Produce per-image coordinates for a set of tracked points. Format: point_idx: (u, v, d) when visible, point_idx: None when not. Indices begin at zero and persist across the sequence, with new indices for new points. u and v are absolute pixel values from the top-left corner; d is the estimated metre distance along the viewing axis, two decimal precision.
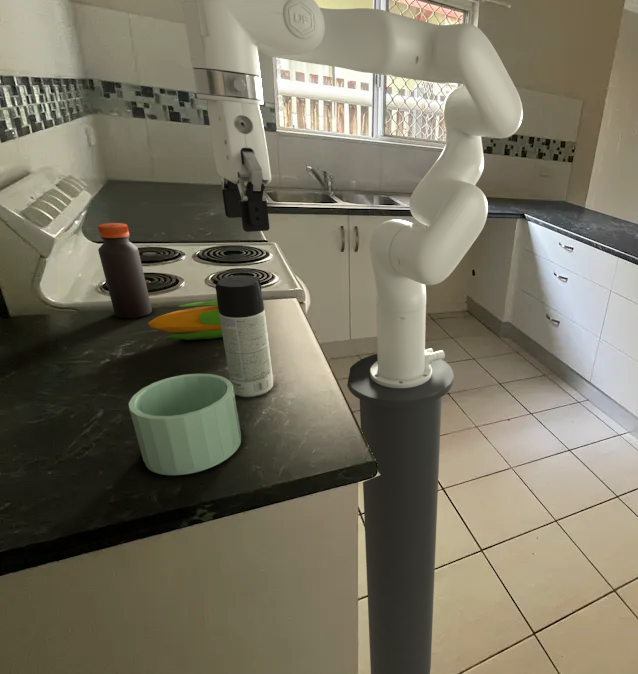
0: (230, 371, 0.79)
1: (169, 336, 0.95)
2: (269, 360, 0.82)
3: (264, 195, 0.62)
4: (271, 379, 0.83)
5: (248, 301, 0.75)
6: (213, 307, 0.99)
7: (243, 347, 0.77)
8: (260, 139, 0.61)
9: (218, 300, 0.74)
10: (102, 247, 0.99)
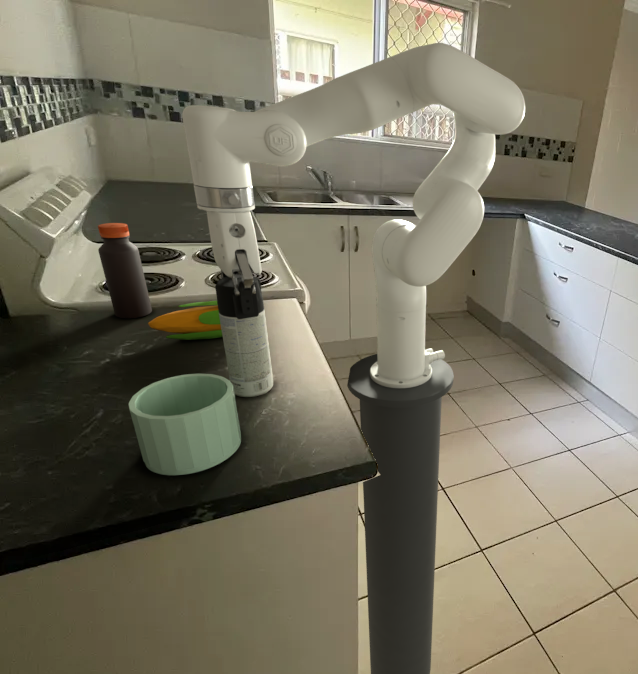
0: (230, 371, 0.79)
1: (169, 336, 0.95)
2: (269, 360, 0.82)
3: (254, 290, 0.73)
4: (271, 379, 0.83)
5: None
6: (213, 307, 0.99)
7: (243, 347, 0.77)
8: (252, 241, 0.70)
9: (218, 300, 0.74)
10: (102, 247, 0.99)
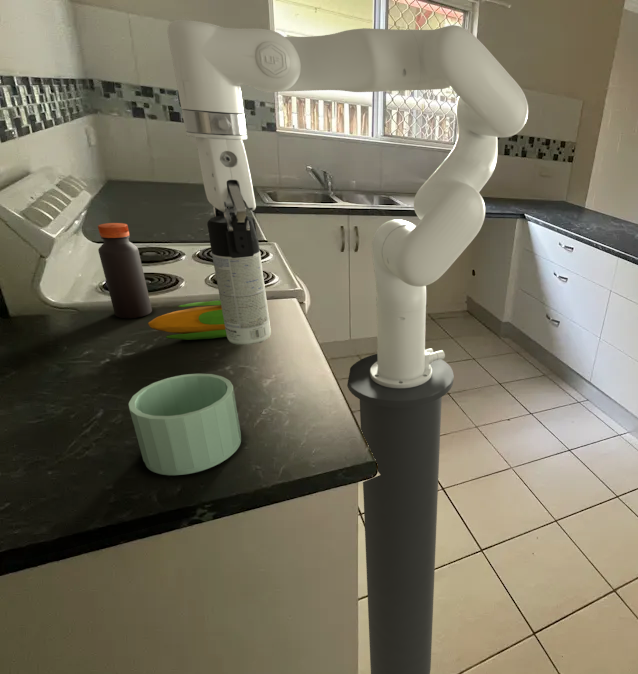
0: (225, 317, 0.76)
1: (169, 336, 0.95)
2: (266, 307, 0.78)
3: (248, 226, 0.69)
4: (268, 327, 0.80)
5: None
6: (213, 307, 0.99)
7: (238, 290, 0.73)
8: (244, 171, 0.67)
9: (210, 238, 0.71)
10: (102, 247, 0.99)
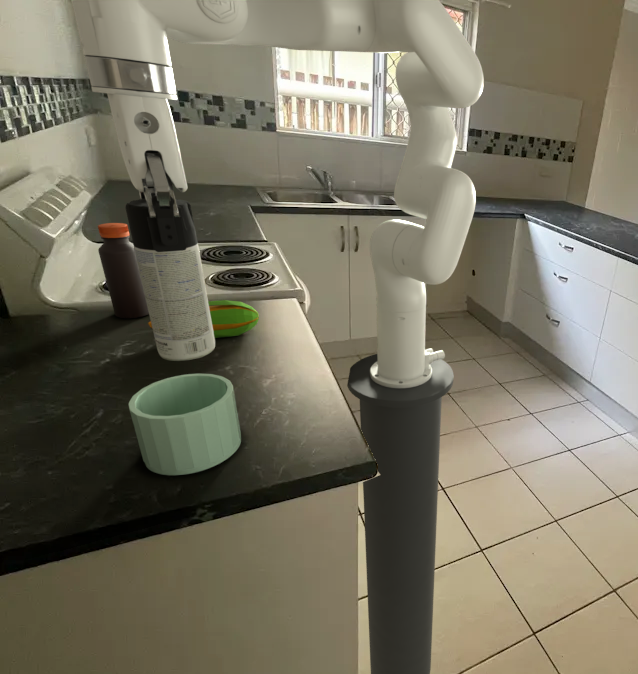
0: (153, 326, 0.60)
1: None
2: (207, 313, 0.63)
3: (177, 212, 0.54)
4: (211, 339, 0.64)
5: None
6: (213, 307, 0.99)
7: (167, 292, 0.58)
8: (169, 140, 0.52)
9: (130, 226, 0.56)
10: (102, 247, 0.99)
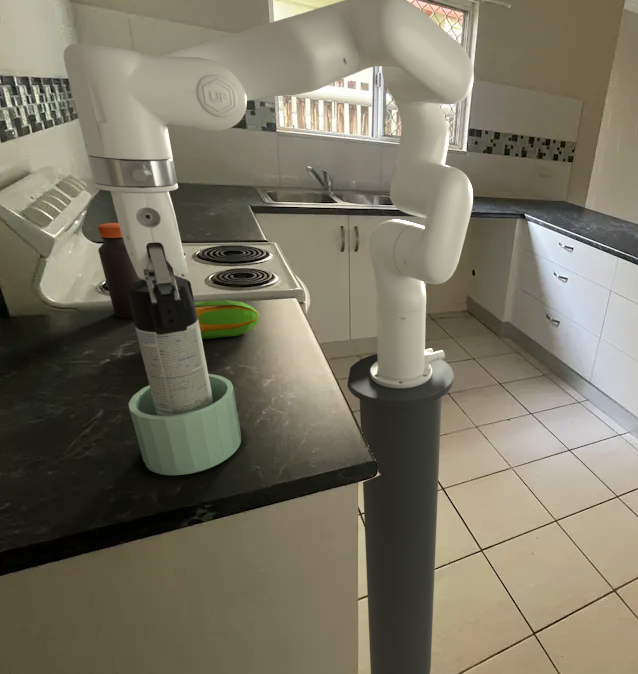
0: (154, 400, 0.62)
1: None
2: (207, 384, 0.64)
3: (177, 297, 0.56)
4: None
5: None
6: (213, 307, 0.99)
7: (168, 370, 0.59)
8: (170, 231, 0.53)
9: (132, 309, 0.57)
10: (102, 247, 0.99)
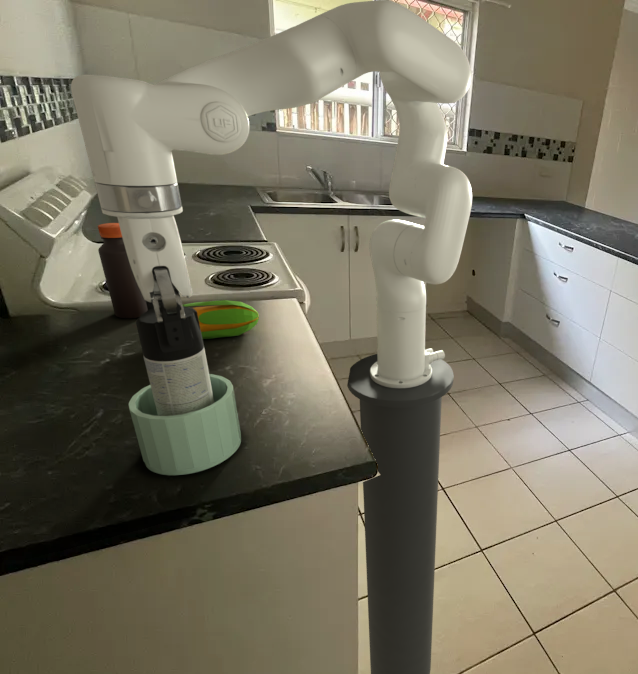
0: None
1: None
2: None
3: (183, 314, 0.56)
4: None
5: None
6: (213, 307, 0.99)
7: (175, 397, 0.61)
8: (176, 255, 0.54)
9: (140, 339, 0.58)
10: (102, 247, 0.99)
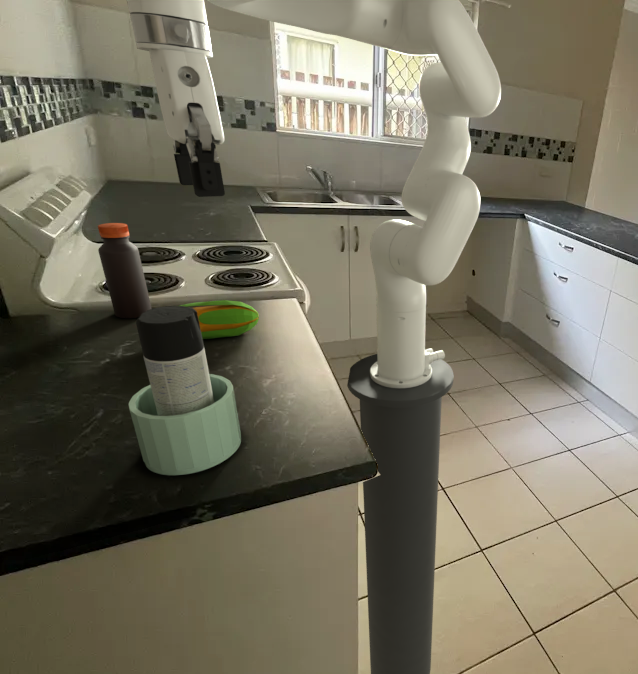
0: None
1: None
2: None
3: (216, 156, 0.57)
4: None
5: (178, 340, 0.59)
6: (213, 307, 0.99)
7: (175, 397, 0.61)
8: (209, 94, 0.56)
9: (140, 339, 0.58)
10: (102, 247, 0.99)
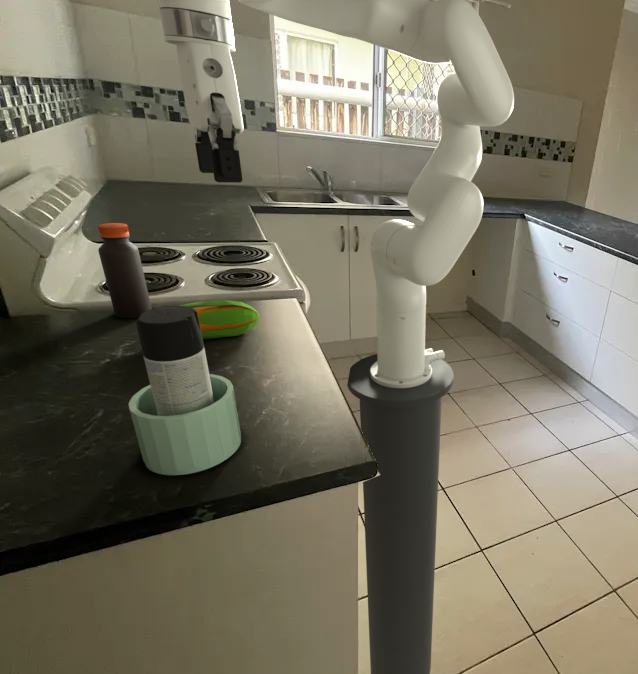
0: None
1: None
2: None
3: (236, 144, 0.60)
4: None
5: (178, 340, 0.59)
6: (213, 307, 0.99)
7: (175, 397, 0.61)
8: (231, 85, 0.59)
9: (140, 339, 0.58)
10: (102, 247, 0.99)
